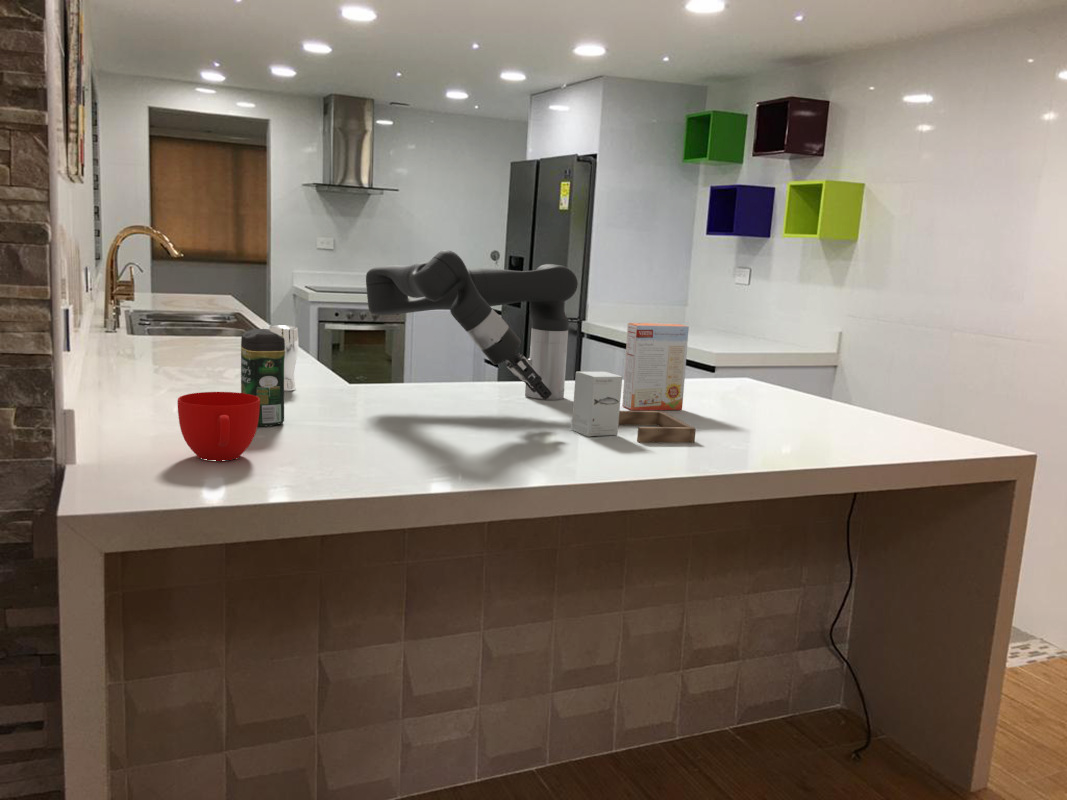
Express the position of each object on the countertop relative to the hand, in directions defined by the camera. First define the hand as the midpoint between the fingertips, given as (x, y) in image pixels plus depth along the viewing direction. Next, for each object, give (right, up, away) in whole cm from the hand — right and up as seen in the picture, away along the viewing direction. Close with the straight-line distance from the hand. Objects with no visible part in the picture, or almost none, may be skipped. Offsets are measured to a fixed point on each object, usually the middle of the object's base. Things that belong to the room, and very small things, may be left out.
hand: (542, 393), depth 192 cm
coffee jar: (-56, -6, -10) cm, 57 cm away
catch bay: (+22, -8, +3) cm, 24 cm away
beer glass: (-62, +1, +27) cm, 68 cm away
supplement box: (+11, -9, 0) cm, 14 cm away
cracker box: (+27, -4, +33) cm, 43 cm away
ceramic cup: (-54, -12, -40) cm, 68 cm away
